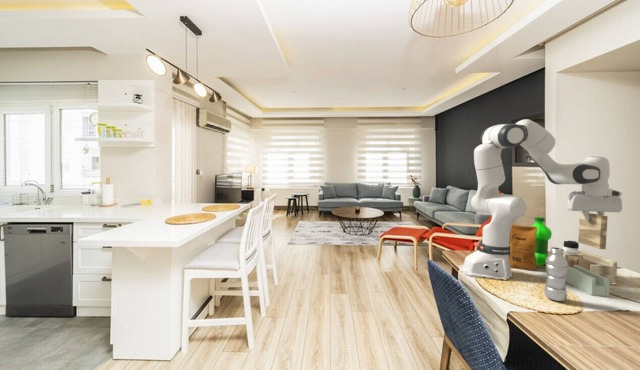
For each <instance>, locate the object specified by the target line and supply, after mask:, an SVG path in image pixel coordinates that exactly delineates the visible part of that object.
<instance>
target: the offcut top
mask: <svg viewBox="0 0 640 370" xmlns="http://www.w3.org/2000/svg"><path fill="white" fill-rule="evenodd" d="M579 259H583V258H580V257H577V256H569V262H571V263H574V264H578V260H579Z"/></svg>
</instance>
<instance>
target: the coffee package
mask: <svg viewBox="0 0 640 370" xmlns="http://www.w3.org/2000/svg"><path fill="white" fill-rule="evenodd" d="M536 232H537V227H536V226H532V225H518V224H515V223H514V224H513V225H512V228H511V231H510V241H509V246H510V257H509V260H510V268H517V269H520V270H527V271H535V270H536V268H537V264H536V257H535V248H536Z"/></svg>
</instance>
